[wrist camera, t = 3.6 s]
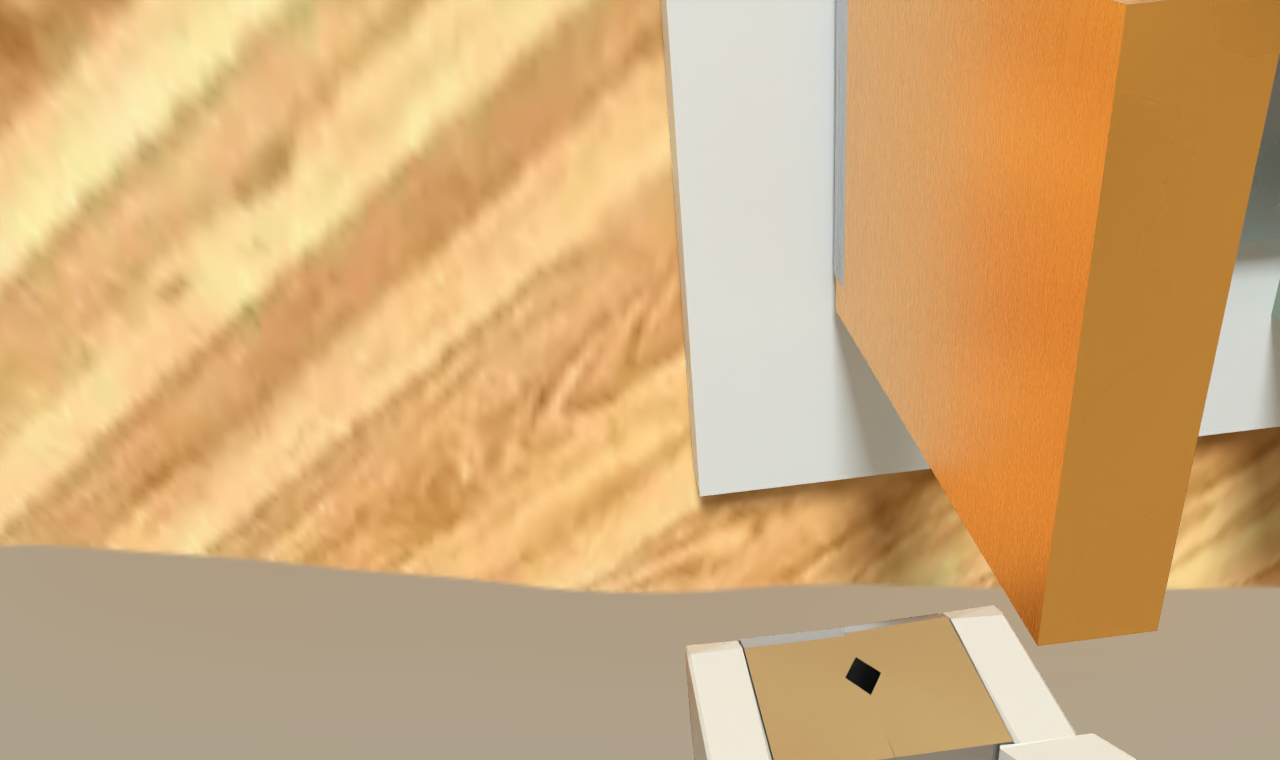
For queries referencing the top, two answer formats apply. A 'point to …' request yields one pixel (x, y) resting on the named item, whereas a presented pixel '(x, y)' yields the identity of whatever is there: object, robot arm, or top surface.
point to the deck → (822, 263)
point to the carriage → (1054, 265)
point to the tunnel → (1277, 304)
